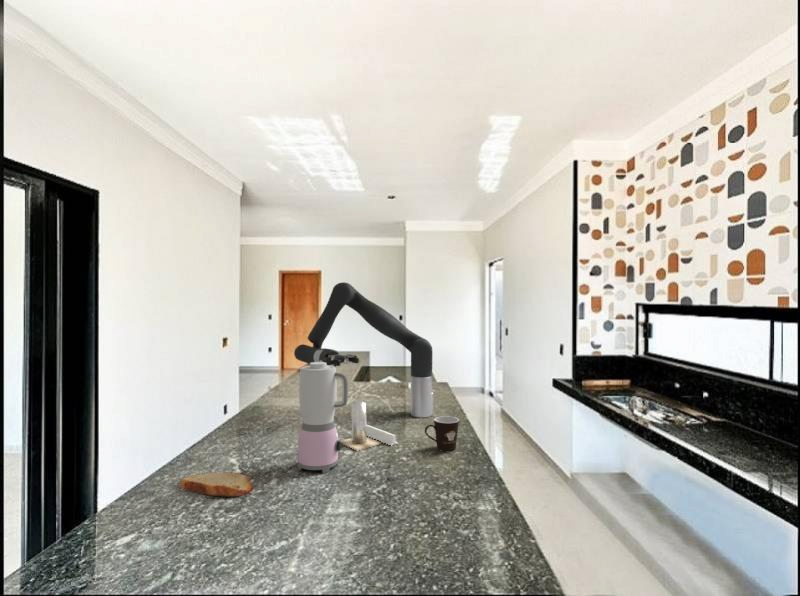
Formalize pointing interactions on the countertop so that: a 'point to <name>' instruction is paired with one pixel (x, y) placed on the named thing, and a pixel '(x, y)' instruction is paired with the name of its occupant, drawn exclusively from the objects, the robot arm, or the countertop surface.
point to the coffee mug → (445, 432)
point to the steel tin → (359, 422)
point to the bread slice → (218, 484)
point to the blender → (319, 416)
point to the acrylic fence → (381, 435)
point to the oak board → (359, 446)
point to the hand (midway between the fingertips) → (349, 361)
